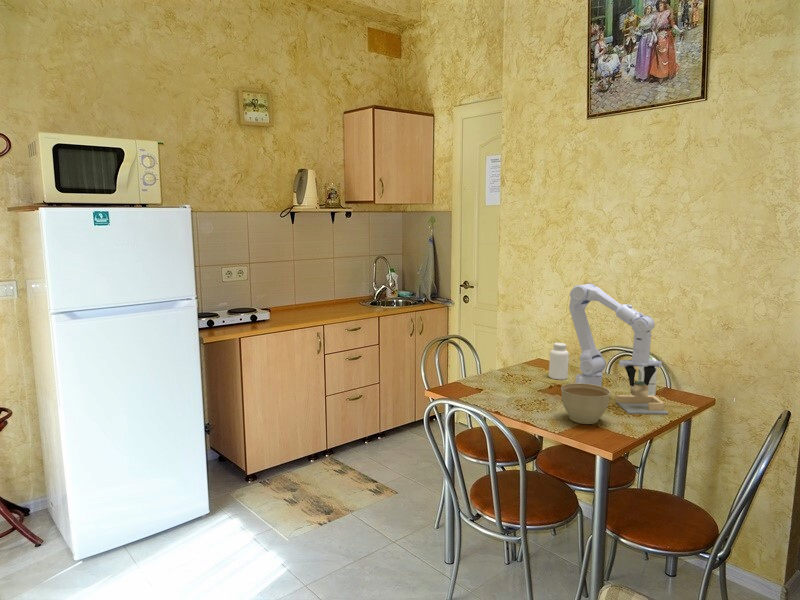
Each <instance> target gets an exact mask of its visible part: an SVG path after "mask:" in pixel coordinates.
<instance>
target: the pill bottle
mask: <svg viewBox="0 0 800 600" xmlns="http://www.w3.org/2000/svg"><path fill="white" fill-rule="evenodd" d="M569 359H570V353H569V351H568V350H567V344H566V343H563V342H554V343H553V348H552V349H551V350H550V352H549V361H548V362H549V364H548V365H549V366H548V377H549V378H551V379H553V380H566V379H568V373H569V372H568V371H569Z"/></svg>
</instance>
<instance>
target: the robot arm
mask: <svg viewBox="0 0 800 600" xmlns="http://www.w3.org/2000/svg"><path fill="white" fill-rule="evenodd" d="M569 296H570V301H569V306H568V307H569V312H570V316H571V320H572V322H573V325H574V326H573V327H574V330H575V332H576V337H577V339H578V343H579V347H580V350H581V353H580V356H579V362H580V363H579V364H580V365H579V368H580V371H581V373H577V374H576V375H575V376H576V377H575V383H583V384H592V385H598V386H601V387H603V385H602V384H603V371H604V370H606V367H607V362H606V359H605V358H604V357H603V356H602V353H601V351H600V350H599V349H597V347H596V343H595V340H594V337H593V334H592V330H591V327H590V326H591V325H590V324H589V319H588V318H587V313H586V308H587V306H588V304H589V303H590V302H599V303H600V304H602V305H603V306H605V307H607V308H608V309H611V311H613V312H615V315H616V317H617V318H618V319H620V320H621V321H623V323H626V324H627V325H628V326H629V327H631V329H632V331H633V344H632V355H631V356H632V358H631V359H624V360H620V359H619V363H618V365H619V367H620V368H622V367H623V368H624V369H625V370H626V374H627V377H628V381H629V386H630V387H631V386H634V383H635V376H636V373H637V369H636V367H637V368H639V367H644V382H645V383H644V384H646V385H647V386H648V385H649V382H650V379H651V377H652V376H653V374H654V373H655V372H656V368H655V367H657V368H662V367H663V365H662V364H663V362H662V361H660V360H657V361H652V360H649V357H651V356H650V355H651V345H652V344H651V343H652V330H654V328H655V326H656V325H655V320H654V319H653V318H652V317H651V316H650V315H644V313H643V312H639V311H638V310H636V309H635V308H633V305H632V304H627V303H623V304H621V303H620V302H618V301H617V300H616V299H614V298H613V297H612V296H610V295H609V294H608V293H606V292H605V291H604V290H603V289H602V288H600V287H599V286H596V285H595V284H593V283H585V284H577V285H575V286H573V288H572V289H571V290H570V292H569Z"/></svg>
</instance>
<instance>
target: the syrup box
mask: <svg viewBox="0 0 800 600" xmlns="http://www.w3.org/2000/svg"><path fill="white" fill-rule="evenodd" d="M649 360H652V361H658V360H657V359H656V358H655V357H654V356H653V357H652V356H650V357H649ZM655 368H656V372H655V373H654V374H653V376H652V377H651V379H650V382H649V385H648V395H654V396H656V391H657V390H656V389H657V388H656V387H657V371H658V367H655ZM637 375H638V376H637V381H640V382H644V367H638V374H637Z"/></svg>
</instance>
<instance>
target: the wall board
mask: <svg viewBox="0 0 800 600" xmlns="http://www.w3.org/2000/svg"><path fill="white" fill-rule="evenodd" d="M616 404H617V405H618V406H619V407H620V408H622V409H623V410H624V411H625V412H626V413H627V414H628V415H669V412H668V411H667V410H666V409H665V402H664V401H663V400H661V399H660V398H659V397H657V396H656V395H655V396H654V395H648V397H635V396H633V395H632V394H616Z"/></svg>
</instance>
